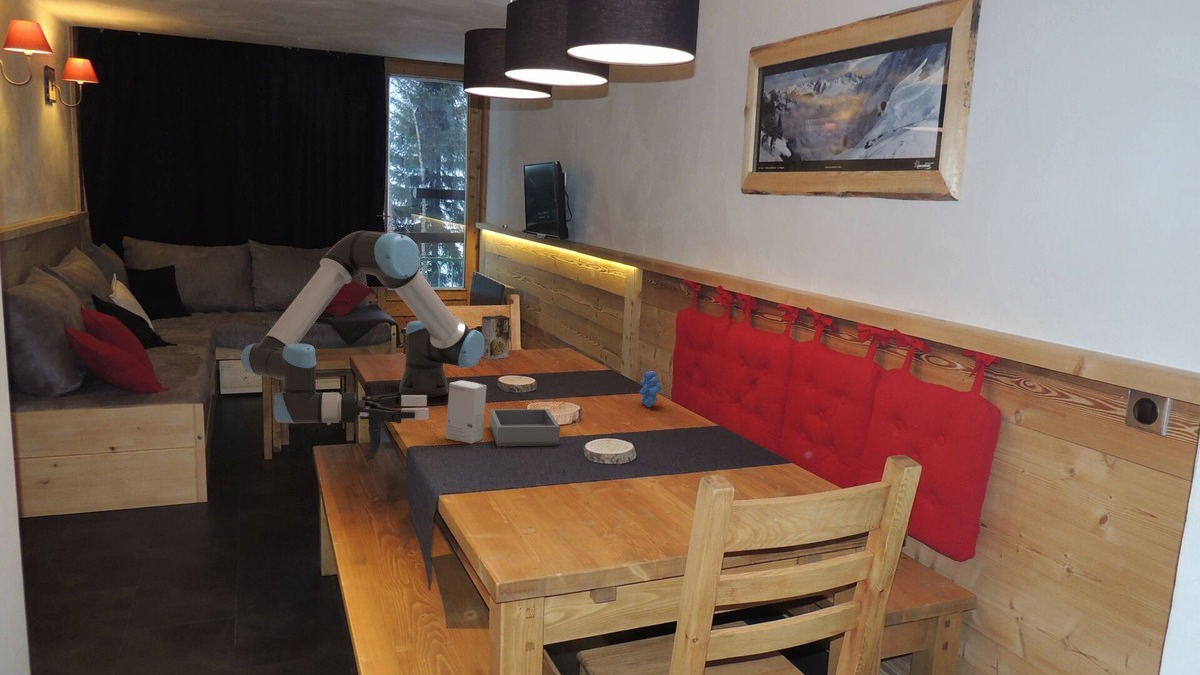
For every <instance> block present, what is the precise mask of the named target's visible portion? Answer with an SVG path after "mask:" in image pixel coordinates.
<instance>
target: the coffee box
mask: <svg viewBox="0 0 1200 675" xmlns="http://www.w3.org/2000/svg"><path fill="white" fill-rule="evenodd" d="M510 319H511V318H510V317H508V316H506V315H502V314H500V315H496V314H495V315H486V316H482V319H481V320H482V321H481V323H482V324H481V334H482V335H483V338H484V351H483V354H482V357H481V358H484V357H485V359H487V360H497V359H504V358H505V359H507V358H509V357H510V321H511V320H510Z"/></svg>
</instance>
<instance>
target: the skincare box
mask: <svg viewBox="0 0 1200 675" xmlns="http://www.w3.org/2000/svg"><path fill="white" fill-rule="evenodd" d="M486 397H487V385H486V384H482V383H478V382H473V381H467V380H462V379H461V380H458V381H457V380H456V381H454V382H449V384H448V398H447V411H446V412H447V413H446V424H445V425H446V426H445V439H446V440H452V441H456V442H463V443H466V444H474V443H476V442H479V441H481V440H483V439H484V427H485V426H484V425H485V411H486V400H487V398H486Z"/></svg>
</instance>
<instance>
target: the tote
mask: <svg viewBox="0 0 1200 675" xmlns="http://www.w3.org/2000/svg"><path fill="white" fill-rule="evenodd" d="M560 426H561V425H560V424H559V423H558V422H557V420H556V419H555V417H554V416H553V414H552V413H551V412H550V410H549V409H548V408H503V409H502V408H500V409H496V408H493V409H492V408H490V409H489V429H490V432H491V434H492V437H493V439H494V441H495V444H496V446H497V447H533V446H534V447H541V446H559V445H560V437H561V435H560V434H561V433H560V432H561V428H560Z"/></svg>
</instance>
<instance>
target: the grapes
mask: <svg viewBox="0 0 1200 675" xmlns="http://www.w3.org/2000/svg"><path fill="white" fill-rule="evenodd" d="M657 376H658V375H657V373H656V371H654V370H648V371H646V372H644V373H643V378H642V379H641V380H640V382H639V383H640V385H641V386H642V387H641V388H640V390H639V394H640V395H641V396H642V397H641V399H640V401H641V402H642V404H643V405H645V407H647V408H651V407H653V405H654V404H655V403H657V401H658V397H657V395H658V394H659V393H660V392H662V390H663V387H662V385H661V384H659V383H660V380H659V378H658V377H657Z"/></svg>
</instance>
